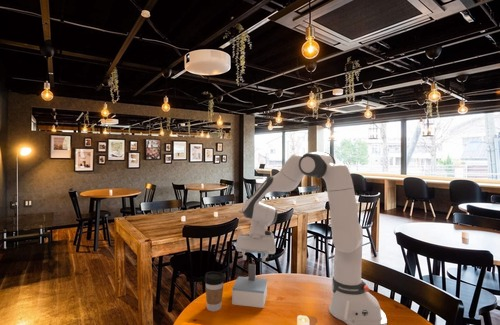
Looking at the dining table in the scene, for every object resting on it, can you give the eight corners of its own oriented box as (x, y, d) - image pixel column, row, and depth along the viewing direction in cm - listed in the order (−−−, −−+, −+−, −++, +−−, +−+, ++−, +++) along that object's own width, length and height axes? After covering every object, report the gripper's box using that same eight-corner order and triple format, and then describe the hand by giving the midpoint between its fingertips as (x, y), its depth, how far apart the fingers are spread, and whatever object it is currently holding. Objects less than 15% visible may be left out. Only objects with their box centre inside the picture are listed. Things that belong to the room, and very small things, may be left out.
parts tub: (266, 295, 127) (267, 281, 127) (263, 309, 116) (263, 293, 116) (238, 292, 130) (238, 278, 130) (232, 305, 118) (232, 290, 118)
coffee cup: (207, 303, 120) (207, 269, 120) (225, 304, 119) (226, 271, 119) (201, 313, 112) (202, 278, 112) (221, 315, 111) (221, 279, 110)
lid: (267, 283, 127) (267, 264, 127) (263, 295, 116) (264, 275, 115) (238, 280, 130) (238, 261, 130) (232, 292, 118) (232, 272, 118)
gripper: (237, 230, 140) (232, 255, 131) (276, 233, 137) (274, 259, 127) (238, 236, 145) (234, 261, 135) (276, 239, 141) (274, 264, 132)
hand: (253, 260), depth 131 cm, fingers open, 8 cm apart
